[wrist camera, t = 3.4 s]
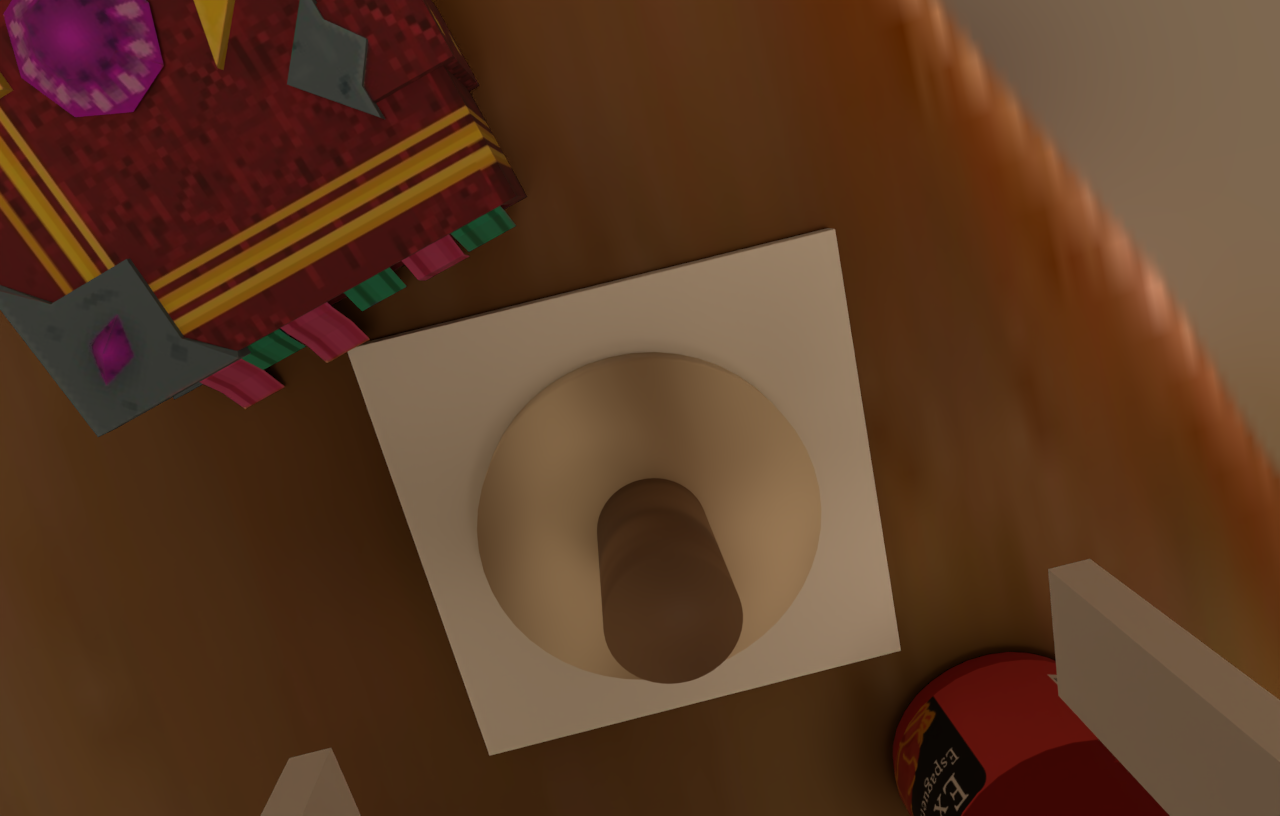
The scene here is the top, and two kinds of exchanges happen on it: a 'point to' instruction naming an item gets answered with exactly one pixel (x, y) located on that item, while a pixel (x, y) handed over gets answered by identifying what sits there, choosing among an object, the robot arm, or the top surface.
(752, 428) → the lid
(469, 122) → the decorative book
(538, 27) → the top surface
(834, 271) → the mat
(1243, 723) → the robot arm
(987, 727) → the canned food
